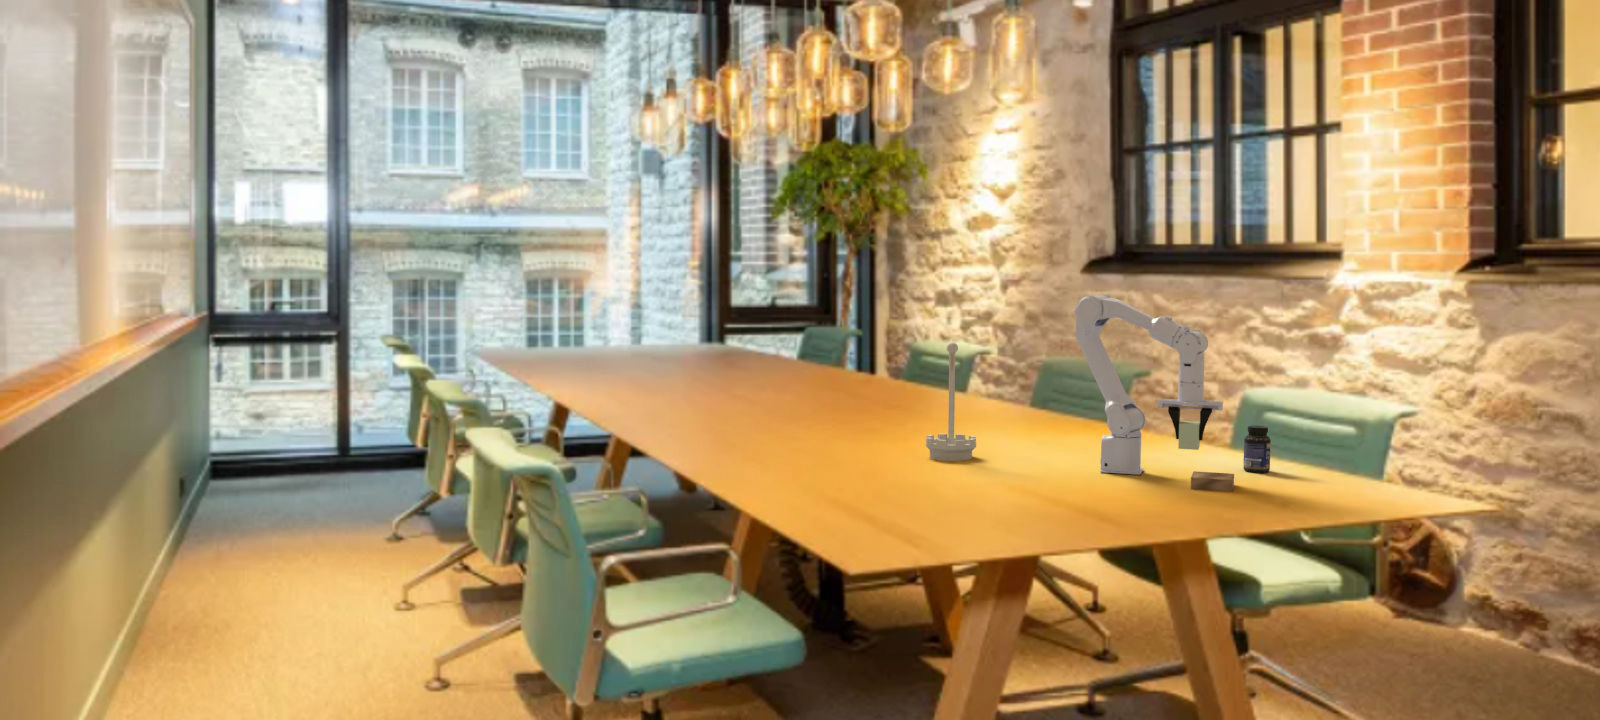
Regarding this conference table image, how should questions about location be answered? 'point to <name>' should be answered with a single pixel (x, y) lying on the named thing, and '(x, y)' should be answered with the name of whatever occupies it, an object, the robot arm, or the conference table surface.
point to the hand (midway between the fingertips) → (1189, 439)
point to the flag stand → (951, 426)
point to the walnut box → (1212, 481)
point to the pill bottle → (1257, 450)
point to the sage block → (1189, 435)
